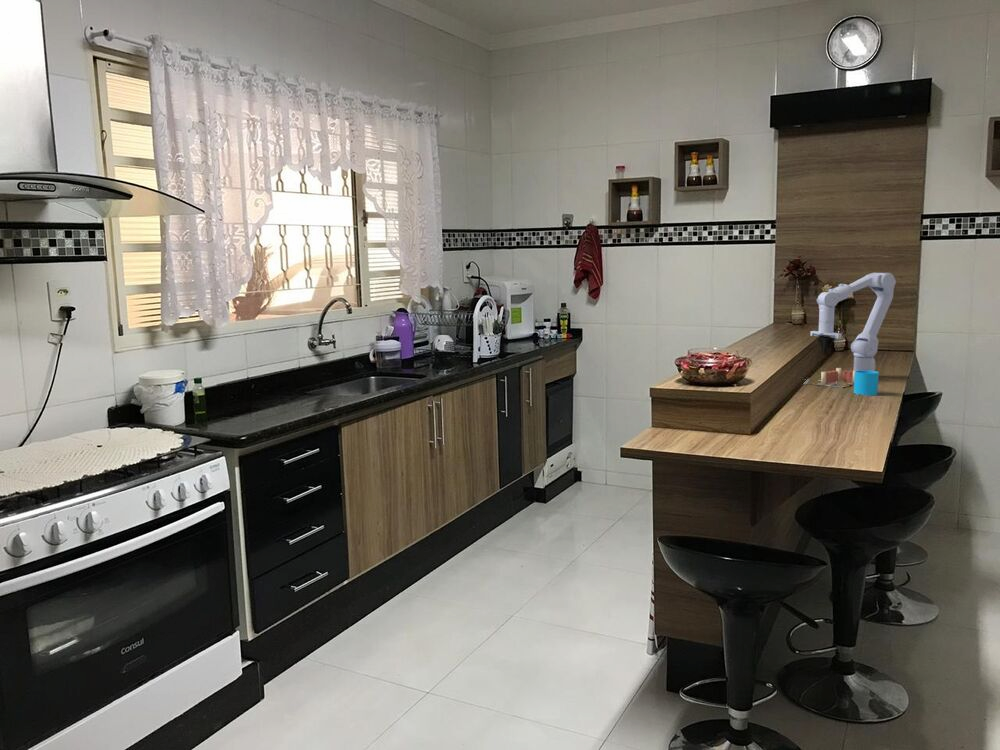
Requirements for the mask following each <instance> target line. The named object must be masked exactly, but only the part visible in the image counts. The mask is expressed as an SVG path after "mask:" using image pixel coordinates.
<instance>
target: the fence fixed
mask: <svg viewBox="0 0 1000 750" xmlns="http://www.w3.org/2000/svg"><path fill="white" fill-rule="evenodd" d="M835 371H838V381H836V382H841V378H842V381H844V382H845V383H847V382H849V383H852V384H854V378H855V371H853V370H848V369H847V370H846V369H845V370H842V367H836V368H835Z"/></svg>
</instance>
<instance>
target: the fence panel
mask: <svg viewBox="0 0 1000 750" xmlns="http://www.w3.org/2000/svg"><path fill="white" fill-rule="evenodd" d="M820 373H821V374H820V376H821V385H826V384H828V383H836V381H838V371H836V369H835V370H834V369H833V370H832V371H831V370H829V371H821V372H820Z"/></svg>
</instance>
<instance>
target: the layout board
mask: <svg viewBox="0 0 1000 750" xmlns="http://www.w3.org/2000/svg"><path fill="white" fill-rule="evenodd" d="M810 378H811V377H810ZM810 378H807V380H806V379H805V380H806V381H805V382H804V383H803V384H802V385H806V384H807V383H808V381H809V379H810ZM818 381H821V380H818ZM838 383H845V382H836V383H828V384H826V385H823V386H822V387H826V386H832V387H831V388H836V387H841V386H840V385H838V386H837V384H838ZM848 384H852V383H848ZM818 385H821V383H818ZM843 387H846V386H843ZM843 387H842V388H841V389H844V388H843ZM846 388H847V387H846Z"/></svg>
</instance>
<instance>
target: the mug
mask: <svg viewBox="0 0 1000 750" xmlns="http://www.w3.org/2000/svg"><path fill="white" fill-rule="evenodd" d="M879 372H880V371H876V370H875V371H867V370H859V371H855V378H854V385H853V394H854V393H856V394H855V395H858V394H861V395H860V396H877V395H878V394H879V393H878V392H879V376H880V375H879V374H880V373H879ZM876 394H877V395H876Z"/></svg>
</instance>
